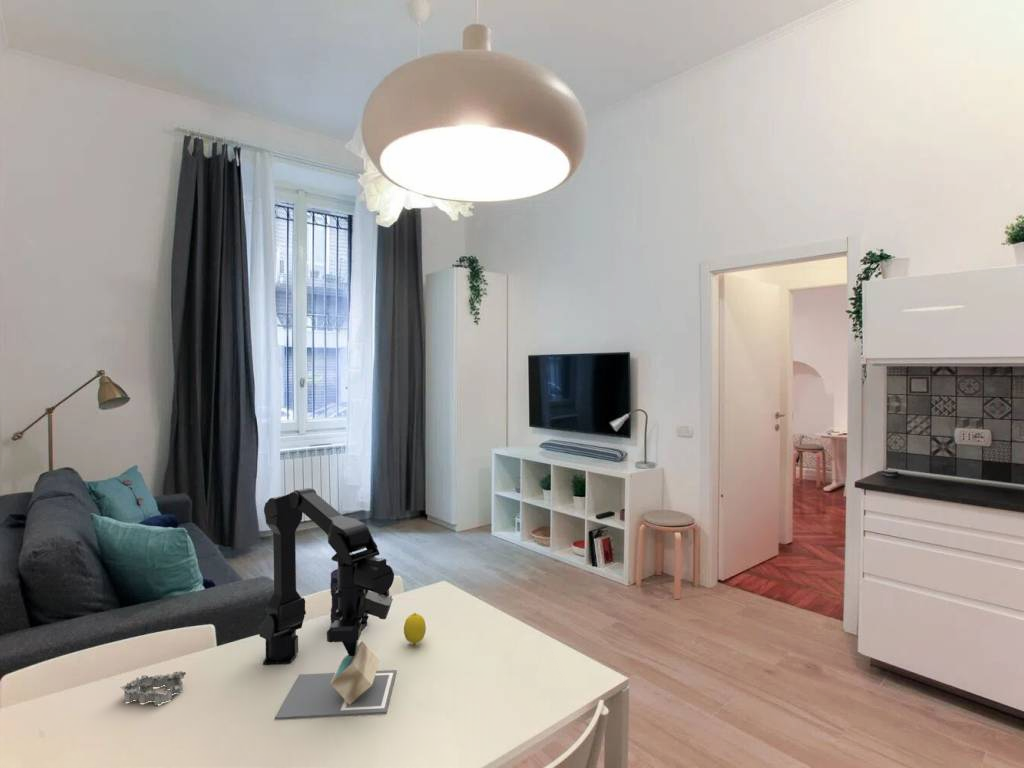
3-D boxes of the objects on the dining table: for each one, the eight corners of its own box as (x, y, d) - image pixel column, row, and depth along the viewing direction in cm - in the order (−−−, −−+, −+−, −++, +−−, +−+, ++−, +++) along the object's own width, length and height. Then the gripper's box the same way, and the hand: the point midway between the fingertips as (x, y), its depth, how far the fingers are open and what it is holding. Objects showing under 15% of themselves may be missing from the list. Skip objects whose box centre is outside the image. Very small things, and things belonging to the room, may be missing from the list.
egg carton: (188, 689, 120) (188, 671, 120) (161, 710, 113) (161, 690, 112) (146, 685, 122) (146, 666, 122) (116, 704, 114) (116, 685, 114)
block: (352, 664, 113) (371, 685, 113) (362, 641, 123) (379, 660, 123) (330, 683, 113) (349, 704, 113) (341, 658, 123) (358, 678, 123)
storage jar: (334, 619, 155) (334, 566, 154) (370, 617, 156) (370, 565, 156) (326, 635, 145) (326, 579, 145) (364, 633, 146) (364, 577, 146)
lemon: (421, 650, 136) (421, 618, 136) (400, 648, 138) (400, 616, 138) (428, 640, 142) (428, 609, 142) (408, 638, 143) (408, 607, 143)
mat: (274, 719, 109) (274, 717, 109) (299, 676, 125) (299, 674, 125) (386, 713, 111) (386, 711, 111) (396, 671, 127) (396, 669, 127)
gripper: (382, 598, 109) (383, 676, 109) (395, 567, 128) (395, 633, 128) (325, 601, 108) (326, 679, 108) (346, 569, 127) (347, 636, 127)
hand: (352, 655), depth 118 cm, fingers closed, pressing on block
